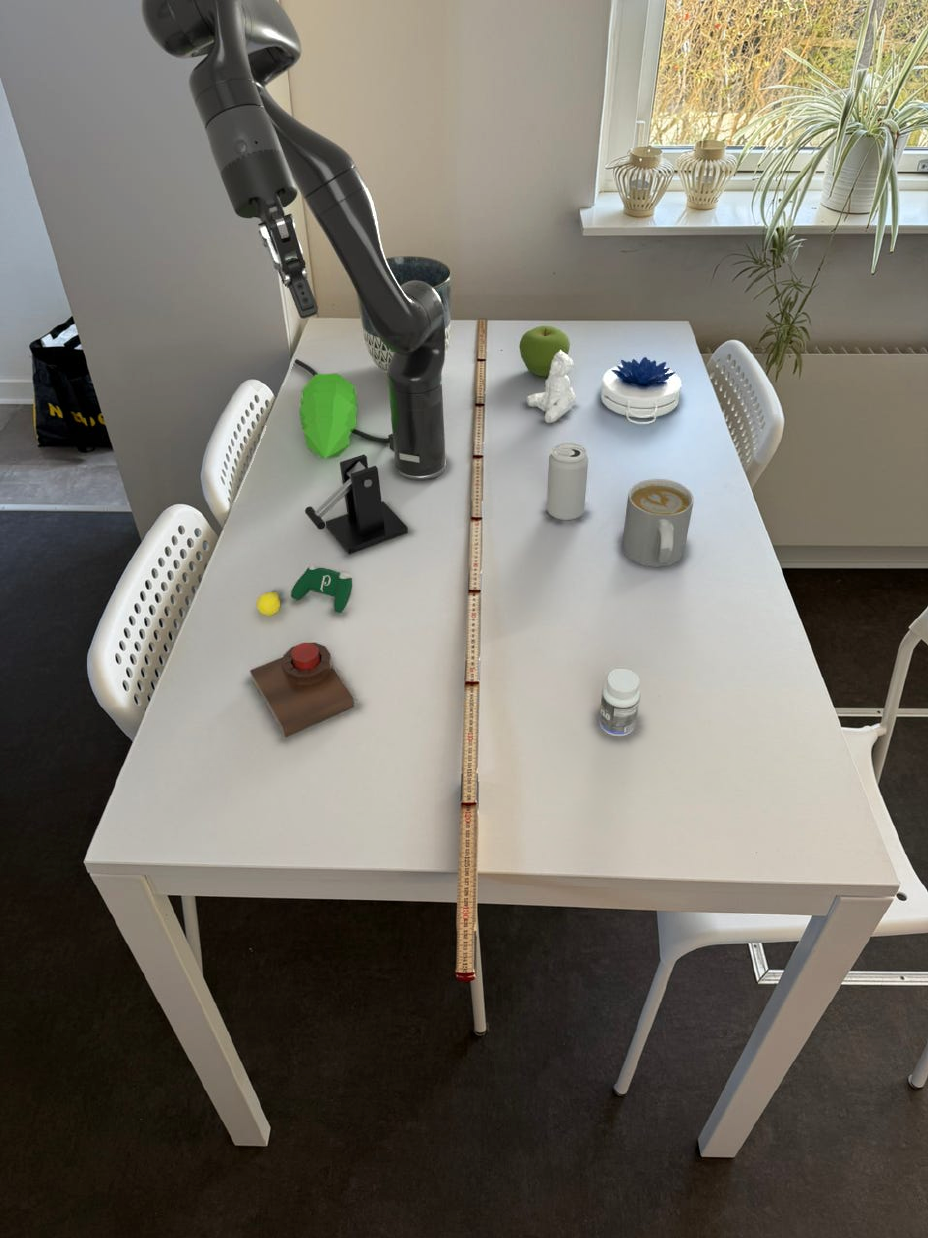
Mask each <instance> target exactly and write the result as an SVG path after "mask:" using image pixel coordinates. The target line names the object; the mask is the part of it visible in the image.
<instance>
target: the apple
mask: <svg viewBox="0 0 928 1238" xmlns="http://www.w3.org/2000/svg"><path fill="white" fill-rule="evenodd" d="M570 345H571V343H570V339H569V336H568V335H567V334H566V333H565V332H564V331H562V330H561V329H559V328H557V327H556V326H551V325H540V326H536V327H534V328H531V329H529V330H528V331H527V330H526V332H525V333H524V334H523V335H522V336H521V338H520V341H519V353H520V357H521V360H522V361H523V363H524V365H525V367H526V369H527V370H528V372H530V373H532V374H534V375H536V376H537V377H542V378H548V377H549V375H550V373H549V372H550V370H551V363H552V360H553V359H554V356H555V354H556V353H558V352H560V350H561V351H562V352H563V353H565V354H567V355H568V356H569V352H570V348H571V347H570Z"/></svg>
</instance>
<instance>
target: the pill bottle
mask: <svg viewBox="0 0 928 1238" xmlns="http://www.w3.org/2000/svg"><path fill="white" fill-rule="evenodd" d="M639 687H640V678H639V676H638V675H637V674H636V673H635V672H634V671H632V670H630V669H627V668H616V669H613V670H611V671H610V672H609V673H608V675H607V678H606V681H605V684H604V686H603V689H602V692H601V701H600V709H599V716H598V723H599V726H600V728H601V729H602V731H604V732H605V733H606V734H608V735H610V736H613V737H614V736H615V737H624V736H628V735H629V734H631V733H632V732H633V730H634V729H635V727H636V721H637V716H638V711H639V706H640V705H639V704H640V699H641V692H640V688H639Z"/></svg>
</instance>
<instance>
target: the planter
mask: <svg viewBox="0 0 928 1238" xmlns="http://www.w3.org/2000/svg"><path fill="white" fill-rule="evenodd" d="M385 258H386V261H387V263H388V265H389V268H390V270H391V272H392V273H393V275H394V277H395V279H396V281H397V282H398V284H399V286H401V285H403V284H404V283H407V282H409V281H422V282H425V283H427V284H429V285H430V286H431V287H432V288H433V289H434V290H435V291H436V292H437V294H438V295H439V297H440V299H441V302H442V304H443V309H444V315H445V356H446V355H447V353H448V349H449V346H450V341H451V332H452V331H451V330H452V329H451V328H452V286H453V285H452V284H453V283H452V282H453V281H452V279H453V278H452V276H453V275H452V270H451V268H450V266H448V264H447V263H444V262H443V261H441V260H438V259H435V258H432V257H431V258H430V257H425V256H416V255H404V256H403V255H400V256H392V257H385ZM355 292H356V291H355ZM356 299H357V304H358V311H359V317H360V322H361V327H362V333H363V339H364V342H365V346H366V350H367V351H368V354H369V356H370V358H371V360H372V362H373V363H374V364H375V365H376V366H377V367H378V368H379V369H380V370H381V371H382V372H384V373H385V374H387V369H388V365H389V363H390V361H391V358H392V356H393V353H394V352H393V351H391V350H390V349H389V348H388V347H386V346H385V345H384V344H383V342H382V341H381V340H380V338H379V337H378V335H377V334H376V332H375V330H374V328H373V326H372V324H371V322H370V320H369V318H368V316H367V314H366V311H365V309H364V307H363V305H362V303H361V301H360V298H359V296H358V294H357V292H356Z"/></svg>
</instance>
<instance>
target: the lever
mask: <svg viewBox="0 0 928 1238" xmlns="http://www.w3.org/2000/svg"><path fill="white" fill-rule="evenodd" d="M363 469H366V468H365V467H364V466H363V465H362V464H361V463H360V462H358V463H357V464H356V465H355V466H354V467H353V468H352V469H351V470H350V471H349V472H348V473H347V474H348V475H349V477H350V479H349V480H348V481H347V482H345V483H344V484H343V483H342V485H341V486H340V487H339V488H338V489H337V490H335V492H334V493H333V494H331V495H330V497H329V498H327V499H326V501H325V502H323V503H322V504H321V506H320V507H318V508H317V509H314V508H313V506H306V508H305V509H304V512H305V515H306V516H307V517H308V518H309V519H310V521H311V522H312V523H313V525H314V526H315V527H316V528H317V530H324V529H325V528H326V521H324V520H323V519H322V518H323V517H325V516H326V514H328V513H329V512H330V511H331V510H332V509H333V508H334V506H336V504H338V503H339V502H340V501H341V500H342V499H343V498H345V495H346V494H347V493H348V492H349V491H350V490H351V489H352V482H351V473H354V472H357V471H360V470H363Z"/></svg>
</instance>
